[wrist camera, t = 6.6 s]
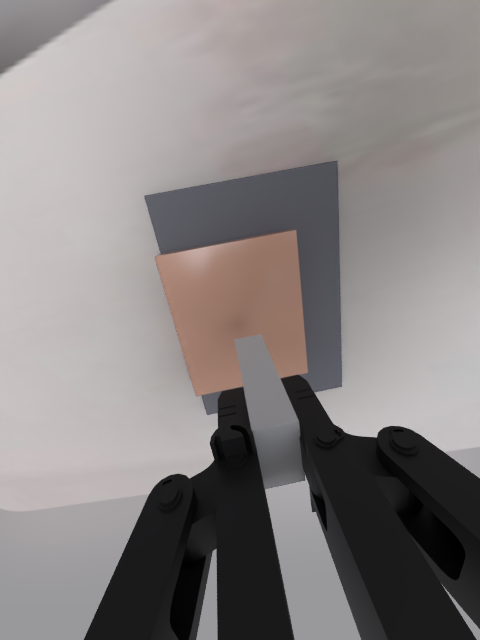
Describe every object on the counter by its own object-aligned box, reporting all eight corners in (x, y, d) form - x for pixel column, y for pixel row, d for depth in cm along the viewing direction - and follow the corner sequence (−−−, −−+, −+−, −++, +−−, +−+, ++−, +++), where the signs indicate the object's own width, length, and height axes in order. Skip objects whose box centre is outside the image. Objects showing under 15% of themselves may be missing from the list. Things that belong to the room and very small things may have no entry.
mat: (332, 163, 18) (337, 160, 18) (338, 381, 26) (342, 386, 25) (147, 197, 18) (144, 195, 17) (207, 409, 25) (207, 414, 25)
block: (296, 229, 17) (154, 256, 17) (308, 372, 22) (196, 396, 21) (288, 229, 19) (160, 253, 19) (300, 361, 23) (197, 382, 23)
